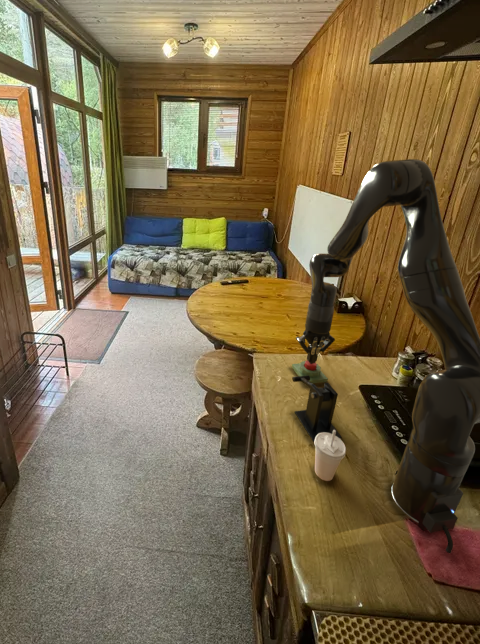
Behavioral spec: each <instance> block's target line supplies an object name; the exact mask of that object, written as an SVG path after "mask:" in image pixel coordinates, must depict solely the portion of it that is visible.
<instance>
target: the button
mask: <svg viewBox="0 0 480 644" xmlns="http://www.w3.org/2000/svg"><path fill="white" fill-rule="evenodd" d="M304 361H305V368H306V369H308V370H311V371H315V370H316V366H317V364H318V363H317V361H316V362H315V363H314V364H310V363H309V361H308V360H307V359H306V360H304Z"/></svg>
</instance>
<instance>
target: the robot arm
mask: <svg viewBox="0 0 480 644" xmlns="http://www.w3.org/2000/svg"><path fill="white" fill-rule="evenodd" d="M396 206H400V208H401V211H402V214H403V216H404V221H405V225H406V226H405V227H406V233H405V234H406V235H405V239H404V243H403V246H402V249H401V252H400V255H399V258H398V263H397V274H398V279H399V282H400V286H401V289H402V293H403V296H404V299H405V302H406V303H407V305H408V307H409V308H410V309H411V311H412V312H413V314H414V315H415V317H417V318H418V319H419V321H420V322H421V323H422V324H423V325H424V326H425V327H426V328H427V329H428V331H429V333H430V334H431V335H432V336H433V337H434V339H435V342H436V343H437V345H438V348H439V351H440V354H441V358H442V362H443V365H444V369H442V370H437V371H434V372H431V373H429V374H427V375H425V377H423V379H422V380H421V382H420V384H419V386H418V389H417V392H416V397H415V400H414V403H413V408H412V412H411V422H412V428H411V431H410V435H409V436H408V437H409V438H408V441H407V443H406V446H405V448H404V452H403V454H402V457H401V461H400V463H399V466H398V469H397V470H396V471H395V473H394V475H395V478H394V480H393V484H392V485H391V495H392V498H393V501H394V502H395V503H396V505H397V506H398V508H399V509H401V511H402V512H403V513H404V514H406V515H407V516H408V517H409V518H408V521H410V522H412V523H413V524H415V525H417V526H418V527H419V528H420V530H422V531H423V532H427V531H428V532H429V533H430V534H433V533H439V532H444V534H445V537H446V540H447V541H446V542H447V545H446V547H445V552H446V553H448V554H452V552H453V548H454V543H453V542H454V541H453V538H452V535H451V532H450V530H453V529H454V528H455V525H456V524H457V521H458V519H459V517H458V516H457V515H456V514H455V513H456V511H457V509H458V506H459V504H460V502H461V500H462V497H463V495H464V491H463V490H461V489H460V486H461V484H462V482H463V480H464V477H465V476H466V472H467V471H468V469H469V466H470V464H471V462H472V460H473V458H474V455H475V452H476V445H475V442H474V440H473V439H472V438H471V436H470V435H471V433H472V430H473V429H474V426H475V425H476V424H480V334H479V332H478V329H477V326H476V323H475V320H474V317H473V314H472V311H471V308H470V306H469V304H468V303H469V302H468V300H467V296H466V293H465V288H464V284H463V282H462V279H461V276H460V273H459V269H458V267H457V264H456V262H455V259H454V257H453V254H452V251H451V247H450V244H449V240H448V237H447V233H446V230H445V229H446V228H445V226H444V223H443V219H442V214H441V210H440V204H439V199H438V193H437V187H436V183H435V178H434V174H433V172H432V170H431V168H430V166H429V165H428V164H427V163H426V162H425V161H423V160H421V159H415V158H409V159H394V160H384V161H380V162H378V163H377V162H376V164H374V165H373V166H372V167H370V169H369V170H368V171H367V173H366V175H365V176H364V178H363V180H362V182H361V184H360V185H359V188H358V190H357V192H356V194H355V197H354V199H353V201H352V203H351V206H350V208H349V211H348V212H347V215H346V217H345V219H344V221H343V223H342V224H341V226H340V228H339V229H338V231H337V232H336V233H335V234H334V236H333V238H332V239H331V240H330V241H329V242H328V245H327V247H326V248H327V249H326V250H327V253H315V254H314V255H312V256H311V258H310V260H309V263H308V264H309V265H308V266H309V274H310V280H311V281H310V282H311V293H310V298H309V303H308V306H307V311H306V317H305V323H304V328H305V329H304V331H302V335H301V336H297V337H295V340H296V341H297V343H298V344H299V346H300V347H301V348H302V350H303V351H304V352H305V353H306V354H307V355H306V360H308V361H309V363H310V364H314V363H315V362H316V363H317V361H318V357H319V354H320V353H324V352H325V351H326V350H327V349H328V348H329V347H330V346H331V345H333V344H334V342H335V341H336V338H335V337H334V336H333V335H331V328H332V324H333V319H334V313H335V304H336V303H335V302H336V298H337V294H338V293H337V292H338V288H337V287H336V285H335V284H333V283H330V282H326V281H324V279H325V278H341V277H343V276H345V275H346V274H347V273H348V272H349V270H350V267H351V263H352V261H353V259H354V256H355V255H356V254H357V253H358V252H359V251H360V249H362V247H364V245H365V243H366V242H367V239H368V237H369V222H370V220H371V219H372V217H373V216H374V215H375V214H377V212H379V210H381V209H382V208H385V207H396ZM306 344H307V345H306Z"/></svg>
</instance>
